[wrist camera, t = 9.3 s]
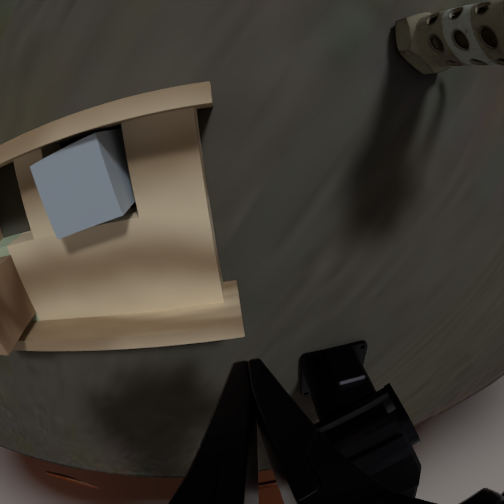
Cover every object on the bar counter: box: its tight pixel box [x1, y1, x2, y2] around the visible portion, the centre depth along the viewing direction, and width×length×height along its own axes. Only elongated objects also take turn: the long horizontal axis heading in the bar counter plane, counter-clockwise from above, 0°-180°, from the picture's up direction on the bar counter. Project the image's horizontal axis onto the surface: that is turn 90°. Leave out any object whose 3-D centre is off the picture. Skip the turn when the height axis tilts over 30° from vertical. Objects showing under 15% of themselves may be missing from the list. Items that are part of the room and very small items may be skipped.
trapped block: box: [30, 128, 135, 239], centre depth 15 cm, size 4×4×4 cm
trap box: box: [0, 81, 245, 351], centre depth 16 cm, size 14×22×5 cm, turn 96°
